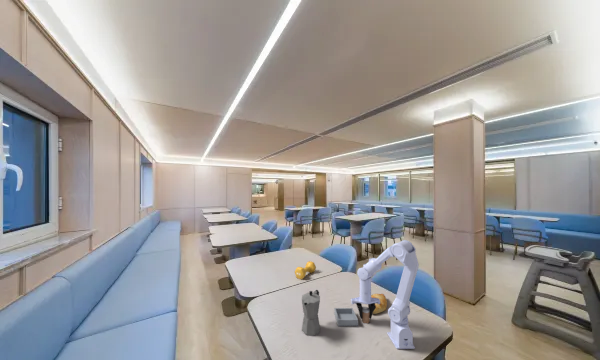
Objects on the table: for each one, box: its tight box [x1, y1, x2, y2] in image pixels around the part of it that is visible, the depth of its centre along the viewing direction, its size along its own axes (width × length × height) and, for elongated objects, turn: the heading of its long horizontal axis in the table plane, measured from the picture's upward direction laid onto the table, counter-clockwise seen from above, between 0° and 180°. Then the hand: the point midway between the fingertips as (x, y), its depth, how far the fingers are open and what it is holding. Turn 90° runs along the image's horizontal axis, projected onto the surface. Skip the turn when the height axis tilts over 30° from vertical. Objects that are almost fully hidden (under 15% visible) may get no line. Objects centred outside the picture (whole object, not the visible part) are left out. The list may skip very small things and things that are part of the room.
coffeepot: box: [301, 289, 321, 337], centre depth 99 cm, size 15×9×18 cm, turn 151°
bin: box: [333, 307, 359, 327], centre depth 105 cm, size 10×10×3 cm
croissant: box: [371, 293, 388, 315], centre depth 117 cm, size 21×10×8 cm, turn 143°
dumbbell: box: [294, 260, 317, 280], centre depth 159 cm, size 19×9×8 cm, turn 143°
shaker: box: [360, 306, 371, 324], centre depth 105 cm, size 4×4×6 cm
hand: (365, 317), depth 105 cm, fingers closed on shaker, 4 cm apart
